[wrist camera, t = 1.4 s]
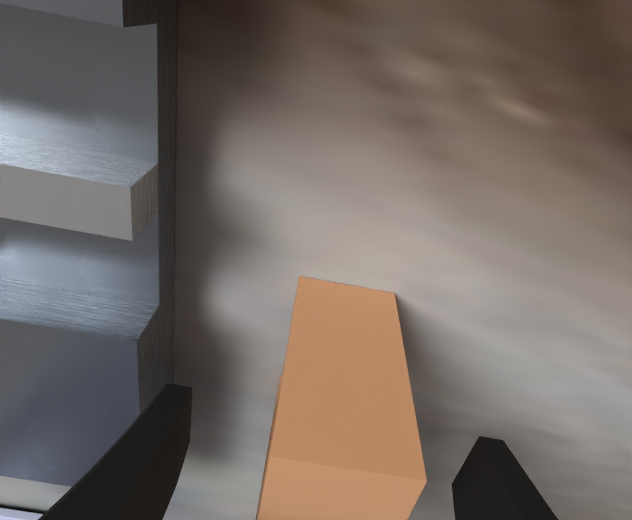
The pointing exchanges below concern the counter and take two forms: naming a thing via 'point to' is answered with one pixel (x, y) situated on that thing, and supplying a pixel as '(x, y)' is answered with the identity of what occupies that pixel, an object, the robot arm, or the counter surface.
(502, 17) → the counter surface
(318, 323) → the clip
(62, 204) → the rail
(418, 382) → the counter surface
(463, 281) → the counter surface
